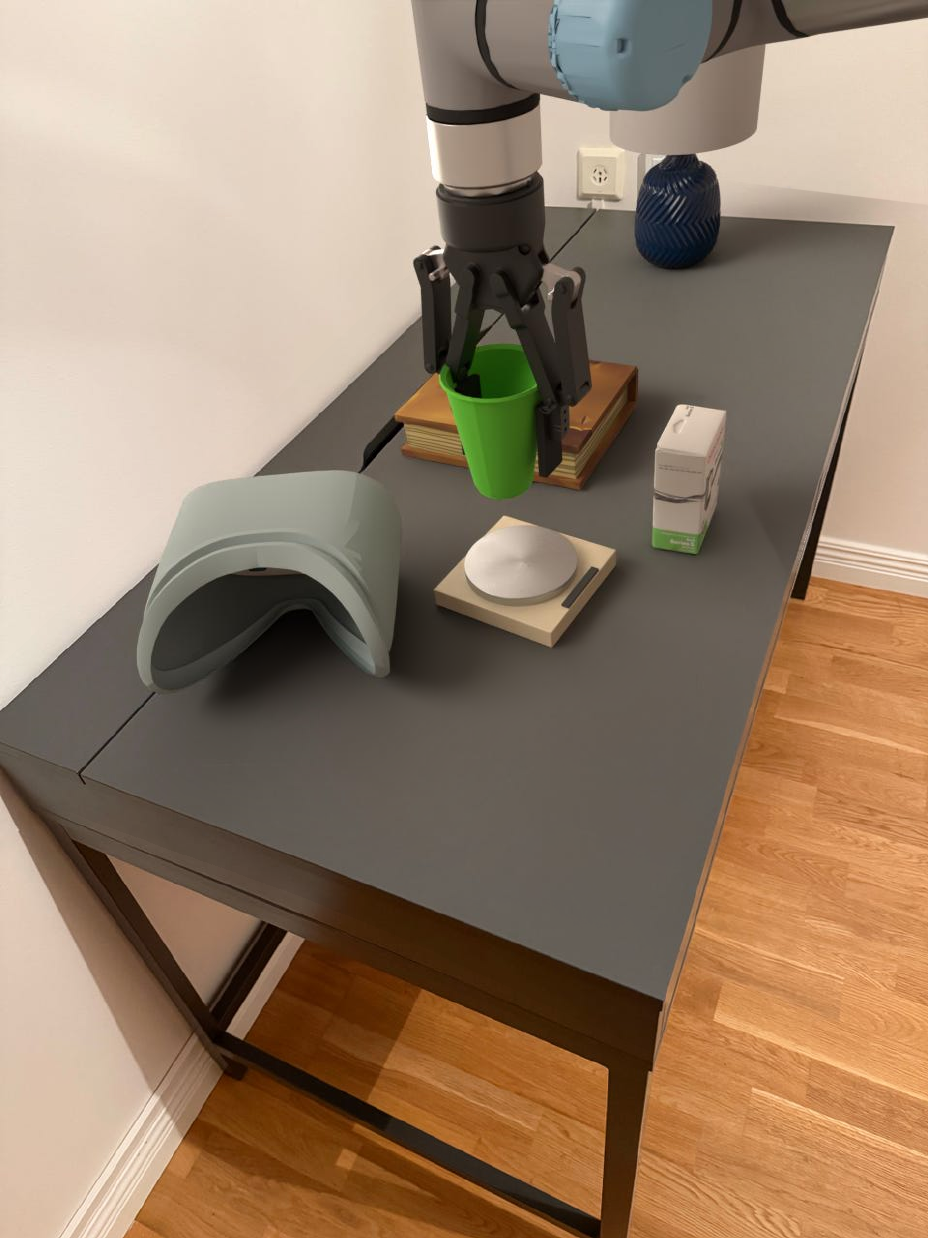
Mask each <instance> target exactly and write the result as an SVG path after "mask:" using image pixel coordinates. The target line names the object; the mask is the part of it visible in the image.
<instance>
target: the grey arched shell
mask: <svg viewBox="0 0 928 1238" xmlns="http://www.w3.org/2000/svg"><path fill="white" fill-rule="evenodd" d="M402 536H403V520H402V516H401V512H400V509H399V506H398V503H397V502H396V500H395V498H394V496H393V495H392V493H391V492H390V491H389V489H388V488H387V487H386V486H384V485H383V484H382V483H380V482H379V481H378V480H376V479H374V478H372V477H370V476H369V475H365V474H362V473H360V472H355V471H351V470H341V469H340V470H339V469H336V470H334V469H331V470H313V471H311V470H310V471H299V472H289V473H281V474H280V473H279V474H268V475H267V474H266V475H259V476H258V475H257V476H256V475H255V476H247V477H238V478H230V479H229V478H228V479H223V480H222V479H221V480H216V481H214V482H208V483H206V484H203V485H200V486H198V487H196V488H195V489H193V490H192V491H190V492H189V493H188V494H187V495H186V496H185V497H184V498H183V499H182V502H181V505H180V507H179V509H178V513H177V516H176V518H175V520H174V523H173V526H172V528H171V531H170V534H169V537H168V539H167V541H166V545H165V547H164V550H163V552H162V555H161V558H160V560H159V563H158V566H157V568H156V572H155V574H154V578H153V581H152V584H151V587H150V590H149V594H148V597H147V600H146V603H145V607H144V612H143V621H142V624H141V628H140V630H139V634H138V640H137V646H136V665H137V671H138V675H139V677H140V679H141V680H142V683H143V684H144V685H145V686H146V687H147V688H148V689H149V690H150V691H152V692H153V693H156V694H158V695H171V694H175V693H177V692H178V693H179V692H181V691H183V690H186V689H188V688H190V687H192V686H194V685H197V683H200V682H201V681H203V680H206V679H207V678H209V676H211V675H213V674H215V673H216V672H218V671H219V670H220V669H222V668H224V667H225V666H226V665H227V664H229V663H230V662H232V661H233V660H234V659H236V658H237V657H238V656H240V654H242V653H243V652H244V651H246V650H247V649H248V648H249V647H250V646H251V645H252V644H253V643H255V642H256V641H257V640H258V639H259V638H260V637H261V636H262V635H263V634H264V633H265V632H266V631H268V629H270V627H271V626H272V625H273V624H274V623H275V622H276V621H277V620H278V619H279V618H281V617H282V616H283V615H284V614H286V613H288V612H291V611H295V610H310V611H312V613H313V615H314V616H315V618H316V619H317V621H318V623H319V624H320V626H321V627H322V629H323V631H324V632H325V633H326V634H327V635H328V637H329V638H330V639H331V641H332V642H333V643H334V644H335V645H336V647H338V649H340V651H342V652H343V654H344V655H345V656H346V657H347V658H348V659H349V660H351V662H353V663H354V664H355V665H356V666H357V667H359V669H361V670H363V671H364V672H365V673H366V674H369V675H371V676H373V677H377V678H381V679H383V678H385V677H386V676H388V675H389V674H390V673H391V665H390V664H391V663H390V654H389V653H390V651H391V649H392V644H393V639H394V632H395V631H394V630H395V622H396V613H397V603H398V592H399V591H398V590H399V576H400V563H401V562H400V561H401V551H402V539H403V538H402Z"/></svg>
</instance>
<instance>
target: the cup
mask: <svg viewBox="0 0 928 1238" xmlns="http://www.w3.org/2000/svg"><path fill="white" fill-rule="evenodd" d="M445 364H446V363H445ZM473 374H478V375H480V384H481V394H482V399H480V398H472V397H468V396H464V395H462V394H459V393H457V392H455V389H454V388H455V387H457V383H455V384H453V380H452V376H451V372H450V368H449V367H447V366H446V365H444V366H443V367H442V370H441V372H440V374H439V383H440V385H441V387H442V388H443V390H445V391H446V393H447V396H448V399H449V402H450V406H451V409H452V412H453V416H454V419H455V422H456V425H457V429H458V432H459V435H460V439H461V442H462V445H463V448H464V452H465V455H466V458H467V462H468V465H469V468H468V469H469V472H470V474H471V478H472V481H473V485H474V487H475V488H476V489H477V490H478V492H479V493H480V494H481V495H483V496H485V497H486V498H489V499H493V500H509V499H514V498H516V497H520V496H521V495H523V494H524V493H526V492H527V490H529V488H530V487H531V484H532V483H533V482H534V481H533V477H534V469H535V462H536V454H537V434H536V417H535V407H536V406H537V405H538V404H539V403H540V402H541V401H542V397H541V395H540V392H539V389H538V387H537V384H536V382H535V379H534V377H533V374H532V371H531V369H530V366H529V364H528V361H527V358H526V356H525V353H524V351H523V348H522V345H521V344H517V343H489V344H483V345H481V346H478V347H476V349H475V353H474V357H473V361H472V365H471V368H470V370H469V371H468V376H470V375H473Z"/></svg>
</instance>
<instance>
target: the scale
mask: <svg viewBox="0 0 928 1238" xmlns="http://www.w3.org/2000/svg"><path fill="white" fill-rule="evenodd" d="M520 525H531V526H539V525H536V524H534V523H530V522H527V521H523V520H521V519H520V520H519V519H517V518H514V517H511V516H507V515H503V516H502V517H501V518H500V519H499V520H498V521H497V522H496V523H495V524H494V525H493V526H492V527H491V529H489V530H488V531H487V532H486V534H485V535H487V534H489V533H491V532H494V531H496V530H499V529H502V528H506V527H511V526H520ZM539 527H541V526H539ZM557 532H558V533H560V534H562V535H563V536H565V537H566V538H567V539H568V540H569V541H570V542H571V543H572V544H573V546H574V548H575V549H576V552H577V557H578V570H577V574H576V577H575V579H574V580H573V582H572V583H571V585H570V586H569V587H568V588H567V589H566V590H565V591H563V592H562V593H561V594H559V595H558V596H556V597H554V598H552V599H550V600H547V601H545V602H542V603H538V604H534V605H528V606H507V605H501V604H497V603H493V602H490V601H488V600H486V599H484V598H482V597H481V596H479V595H478V594H477V593H475V592H474V591H473V590H472V589H471V587H470V586H469V584H468V582H467V580H466V576H465V569H464V562H465V558H466V555H465V556H464V557H463V558H462V559H461V560H460V561H459V562H458V563H457V565H455V567H453V568H452V570H451V571H450V572H449V573H448V574H447V575H446V576H444V578H443V579H442V580H441V581H440V582H439V583H438V584H437V585H436V587H435V588H434V589H433V593H434V599H435V605H437V606H440V607H441V608H442V607H443V608H445V609H447V610H449V611H453V612H455V613H458V614H461V615H463V616H466V617H469V618H472V619H474V620H477V621H480V622H483V623H485V624H488V625H490V626H491V627H495V628H497V629H500V630H503V631H506V632H509V633H511V634H514V635H516V636H519V637H521V638H523V639H524V638H525V639H527V640H529V641H532V642H535V643H538V644H541V645H543V646H546V647H548V648H551V649H553V648H554V646H555V644H557V642H558V641H559V640H560V638H561V637H562V636H563V634H564V633H565V632H566V631H567V629H568V628H569V627H570V626H571V624H572V622H573V621H574V620H575V619H576V617H577V616H578V615H579V613H581V611H582V610H583V608H585V606H586V604H587V603H588V602H589V600H590V599H591V598H592V597H593V596H594V594H595V593H596V592H597V590H598V589H599V588H600V587H601V586H602V584H603V582H604V581H605V580H606V578H608V576H609V575H610V573H611V572H612V571H613V569H614V568H615V567H616V566H617V550H616V549H615V548H611V547H607V546H604V545H602V544H598V543H595V542H591V541H588V540H585V539H581V538H579V537H575V536H572V535H569V534H566V533H562V532H560V531H557Z"/></svg>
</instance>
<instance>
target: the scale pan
mask: <svg viewBox="0 0 928 1238" xmlns="http://www.w3.org/2000/svg"><path fill="white" fill-rule="evenodd" d="M558 532H559V531H556V530H553V529H550V528H547V527H544V526H540V527H539V525H537V526H531V525H520V526H511V527H506V528H502V529H499V530H496V531H494V532H491V533H489V534H487V533H486V534H487V535H486V534H485V535H484V536H482V537H480V538H479V539H478V540H477V541H475V542H474V543H473V544H472V545H471V547H470V548H469V550H468V551H467V553H466V555H465V556H466V558H465V562H464V569H465V576H466V580H467V582H468V584H469V586H470V587H471V589H472V590H473V591H474V592H475V593H477V594H478V595H479V596H481V597H482V598H484V599H486V600H488V601H490V602H493V603H497V604H501V605H507V606H528V605H534V604H538V603H542V602H545V601H547V600H550V599H552V598H554V597H556V596H558V595H559V594H561V593H562V592H563V591H565V590H566V589H567V588H568V587H569V586H570V585H571V583H572V582H573V580H574V579H575V577H576V574H577V570H578V557H577V552H576V549H575V548H574V546H573V544H572V543H571V542H570V541H569V540H568V539H567V538H566V537H565V536H563V535H562V534H563V533H562V534H560V533H561V532H559V533H558Z"/></svg>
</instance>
